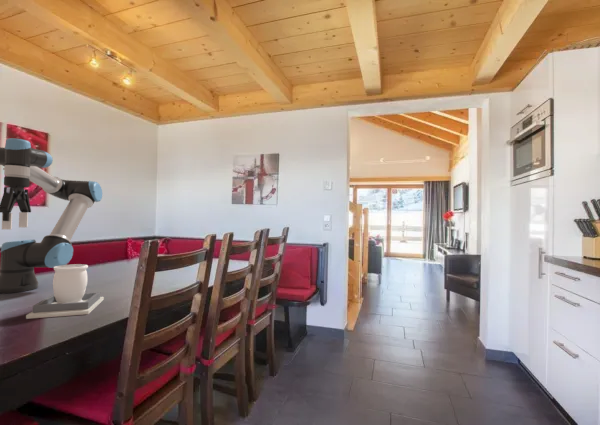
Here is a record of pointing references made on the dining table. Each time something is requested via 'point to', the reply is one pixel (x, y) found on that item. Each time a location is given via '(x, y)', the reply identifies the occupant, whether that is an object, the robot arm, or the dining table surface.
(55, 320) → the dining table surface
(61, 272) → the jar
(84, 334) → the dining table surface
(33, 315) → the socket board
